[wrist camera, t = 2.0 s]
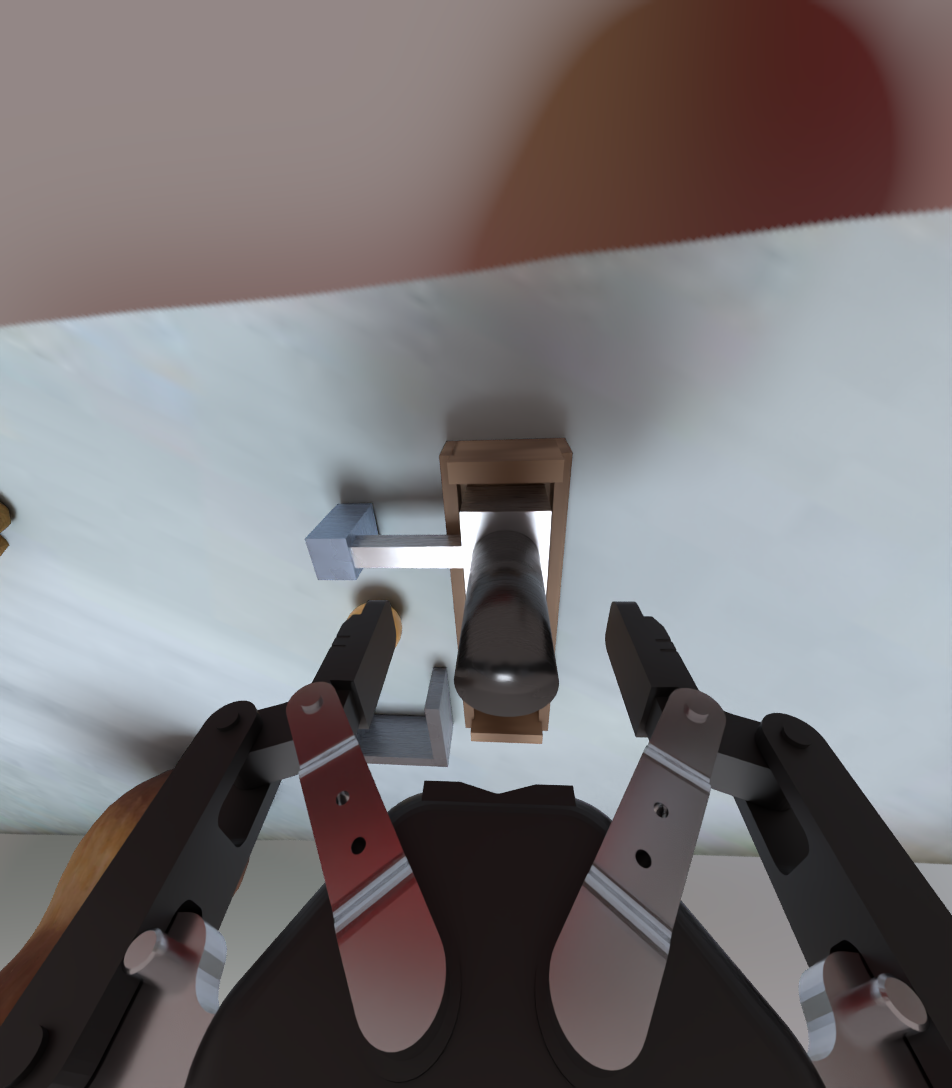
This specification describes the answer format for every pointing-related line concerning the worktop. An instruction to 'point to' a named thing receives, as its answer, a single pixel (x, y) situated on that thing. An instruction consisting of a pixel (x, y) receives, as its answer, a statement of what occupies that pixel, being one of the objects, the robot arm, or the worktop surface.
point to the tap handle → (4, 526)
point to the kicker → (471, 587)
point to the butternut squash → (78, 886)
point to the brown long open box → (553, 469)
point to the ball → (395, 616)
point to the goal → (413, 731)
